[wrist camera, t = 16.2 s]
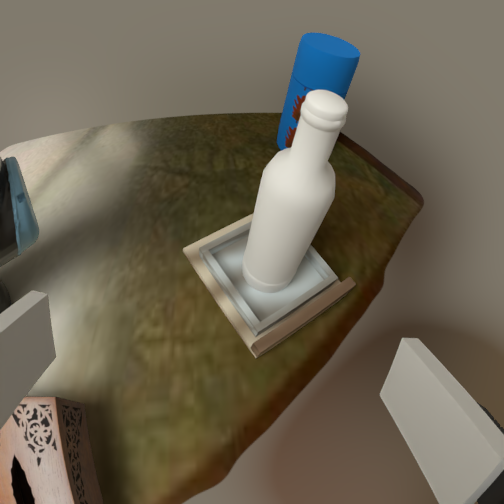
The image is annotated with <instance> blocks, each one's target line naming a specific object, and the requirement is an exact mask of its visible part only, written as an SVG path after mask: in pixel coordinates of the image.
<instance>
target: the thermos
mask: <svg viewBox="0 0 504 504" xmlns="http://www.w3.org/2000/svg"><path fill="white" fill-rule="evenodd" d="M359 57H360V52H359V51H358V49H357V48H356V47H354V46H353V45H352V44H350V43H348V42H346V41H344V40H342V39H340V38H337V37H334V36H330V35H327V34H321V33H307V34H304V35H303V36H302V38H301V41H300V43H299V47H298V52H297V55H296V59H295V63H294V67H293V72H292V75H291V79H290V84H289V87H288V92H287V96H286V100H285V104H284V108H283V112H282V116H281V120H280V124H279V130H278V136H277V144H278V146H279V148H280V149H281V150H284V149H286V148H291V147H292V143H293V140H294V136H295V133H296V130H297V126H298V123H299V119H300V116H301V112H300V111H301V106H302V103H303V102H304V101H305V99H306V95H307V94H308V93H309V92H310V91H314V90H327V91H330V92H333V93H335V94H337V95H339V96H340V97H341V98H343V99H345V96H346V94H347V91H348V89H349V86H350V83H351V81H352V78H353V75H354V73H355V70H356V67H357V64H358V62H359Z"/></svg>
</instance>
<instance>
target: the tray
mask: <svg viewBox="0 0 504 504" xmlns="http://www.w3.org/2000/svg"><path fill="white" fill-rule="evenodd" d="M253 214H254V213H253ZM253 214H251V215H249V216H247V217H245V218H243V219H241V220H239V221H237V222H235V223H233V224H231V225H229V226H227V227H225V228H223V229H221V230H219V231H217V232H215V233H213V234H211V235H209V236H207V237H205V238H203V239H201V240H199V241H197V242H195V243H193V244H191V245H189V246H187V247H185V248H183V252H184V254H185V255H186V257H187V258H188V260H189V261H190V263H191V265H192V266H193V268H194V269H195V271H196V272H197V274H198V275H199V277H200V278H201V280H202V281H203V283H204V284H205V286H206V287H207V289H208V290H209V292H210V293H211V295H212V296H213V298H214V299H215V301H216V302H217V304H218V305H219V307H220V308H221V309H222V311H223V312H224V314H225V315H226V317H227V318H228V320H229V321H230V323H231V324H232V325H233V327H234V328H235V330H236V331H237V333H238V334H239V335H240V337H241V338H242V340H243V341H244V343H245V344H246V345H247V347H248V348H249V350H250V351H251V352H252V354H253V355H254V357H255V358H258V357H259V356H261V355H262V354H264V353H265V352H267V351H268V350H270V349H271V348H273V347H274V346H276V345H277V344H279V343H280V342H282V341H283V340H285V339H286V338H287V337H289V336H290V335H292V334H293V333H295V332H296V331H297V330H299V329H300V328H302V327H303V326H305V325H306V324H307V323H309V322H310V321H312V320H313V319H314V318H316V317H317V316H318V315H320V314H321V313H323V312H324V311H325V310H327V309H328V308H329V307H331V306H332V305H333V304H335V303H336V302H337V301H339V300H340V299H341V298H343V297H344V296H345V295H347V294H348V293H349V291H350V290H351V289H352V288H353V287H354V286H355V285H356V284H355V282H354V281H353V280H352V279H351V278H350V277H348V278H347V279H345V280H344V281H343V282H340V281H339V280H338V277H337V276H336V274H335V273H334V272H333V271H332V270H331V268H330V267H329V266H328V265H327V263H326V262H325V261H324V260H323V259H322V257H321V256H320V255H319V254H318V253H317V251H316V250H315V249H314V248H313V247H312V245H311V244H310V246H309V247H308V249H307V251H306V253H305V255H304V257H303V259H302V261H301V262H300V264H299V266H298V268H297V271H296V273H295V275H294V277H293V278H292V280H291V281H290V283H289V284H288V286H287V287H285V288H284V289H282V290H281V291H278V292H275V293H263V292H260V291H258V290H255V289H254V288H252V287H251V286H250V285H249V284H248V283H247V282H246V280H245V278H244V276H243V272H242V261H243V256H244V252H245V249H246V246H247V241H248V237H249V232H250V228H251V223H252V219H253Z"/></svg>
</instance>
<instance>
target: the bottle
mask: <svg viewBox="0 0 504 504" xmlns="http://www.w3.org/2000/svg"><path fill="white" fill-rule="evenodd" d="M300 112H301V116H300V119H299V123H298V126H297V130H296V133H295V136H294V140H293V143H292V147H291V148H286V149H284V150H282V151H280V152H278V153H277V154H276V155H275V156H274V157H273V159H272V160H271V161H270V162H269V163H268V164H267V166H266V167H265V169H264V170H263V174H262V178H261V183H260V187H259V192H258V196H257V201H256V205H255V210H254V214H253V219H252V223H251V228H250V232H249V237H248V241H247V246H246V249H245V252H244V256H243V261H242V272H243V276H244V278H245V280H246V282H247V283H248V284H249V285H250V286H251V287H252V288H254V289H255V290H258V291H260V292H263V293H275V292H278V291H281V290H282V289H284V288H285V287H287V286H288V284H289V283H290V281H291V280H292V278H293V277H294V275H295V273H296V271H297V268H298V266H299V264H300V262H301V261H302V259H303V257H304V255H305V253H306V251H307V249H308V247H309V246H310V244H311V242H312V240H313V238H314V236H315V234H316V232H317V230H318V228H319V227H320V225H321V223H322V221H323V219H324V217H325V215H326V213H327V211H328V209H329V207H330V205H331V203H332V201H333V199H334V196H335V173H334V170H333V168H332V166H331V165H330V163H329V162H328V159H329V157H330V154H331V152H332V149H333V147H334V145H335V142H336V140H337V137H338V135H339V132H340V130H341V128H342V127H343V126H344V124H345V123H346V115H347V113H348V105H347V104H346V102H345V100H344V99H343V98H341V97H340V96H339V95H337V94H335V93H333V92H330V91H327V90H314V91H310V92H309V93H308V94H307V95H306V99H305V101H304V102H303V103H302V106H301V111H300Z"/></svg>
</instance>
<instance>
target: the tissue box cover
mask: <svg viewBox="0 0 504 504" xmlns="http://www.w3.org/2000/svg"><path fill="white" fill-rule="evenodd" d="M14 462H15V464H14ZM15 468H16V470H15ZM16 472H17V474H16ZM17 477H18V479H17ZM18 482H19V483H18ZM19 486H20V488H19ZM20 490H21V492H20ZM21 494H22V496H21ZM22 498H23V500H22ZM23 502H24V503H23ZM0 504H104V502H103V498H102V495H101V491H100V487H99V483H98V478H97V474H96V469H95V465H94V460H93V455H92V450H91V444H90V439H89V433H88V426H87V420H86V413H85V405H84V404H83V403H78V402H74V401H70V400H65V399H61V398H57V397H24V399H23V400H22V401H21V403H20V404H19V405H18V407H17V408H16V409H15V411H14V412H13V413H12V415H11V416H10V417H9V419H8V420H7V422H6V423H5V424H4V426H3V427H2V429H1V430H0Z"/></svg>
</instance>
